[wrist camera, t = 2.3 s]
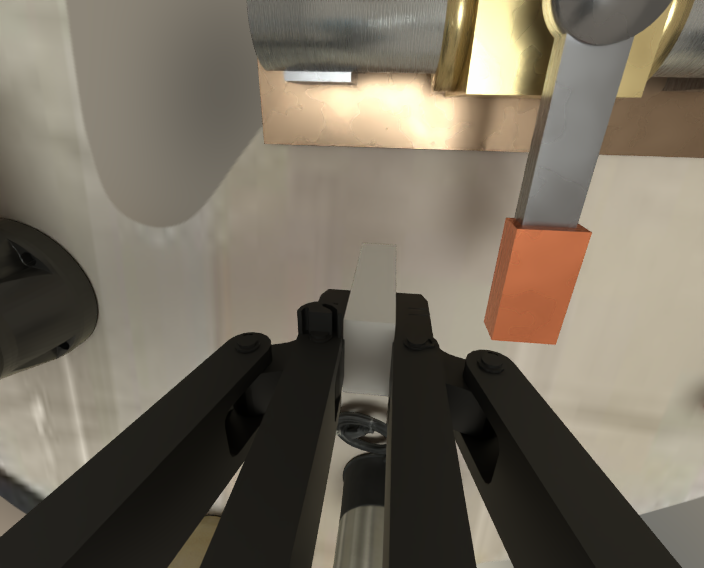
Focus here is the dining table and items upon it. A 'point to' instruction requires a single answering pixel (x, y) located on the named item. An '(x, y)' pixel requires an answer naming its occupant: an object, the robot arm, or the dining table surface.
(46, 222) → the dining table surface
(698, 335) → the dining table surface
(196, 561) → the planter bowl
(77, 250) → the dining table surface
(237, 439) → the robot arm
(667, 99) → the valve manifold
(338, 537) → the milk frother
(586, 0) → the valve lever
